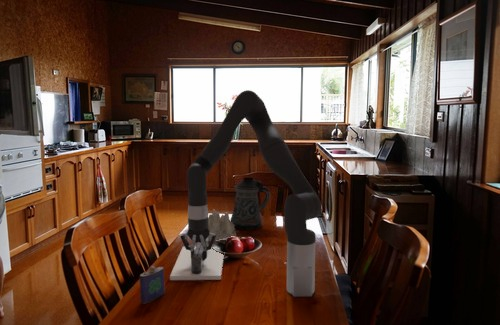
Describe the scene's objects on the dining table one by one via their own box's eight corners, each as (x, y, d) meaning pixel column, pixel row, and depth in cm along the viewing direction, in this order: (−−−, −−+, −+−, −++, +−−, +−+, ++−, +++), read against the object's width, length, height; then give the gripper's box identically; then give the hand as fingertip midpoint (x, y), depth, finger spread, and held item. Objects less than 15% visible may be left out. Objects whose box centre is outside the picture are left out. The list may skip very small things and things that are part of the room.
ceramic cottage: (239, 239, 182) (237, 207, 181) (204, 244, 177) (201, 211, 176) (230, 231, 197) (228, 201, 196) (198, 235, 192) (196, 205, 191)
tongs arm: (196, 269, 144) (196, 257, 143) (191, 269, 144) (190, 257, 143) (203, 248, 166) (203, 237, 165) (198, 248, 166) (198, 237, 165)
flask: (161, 291, 131) (160, 260, 129) (167, 293, 129) (166, 262, 127) (138, 302, 123) (137, 270, 122) (144, 305, 121) (143, 272, 120)
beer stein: (225, 223, 207) (224, 177, 203) (257, 219, 216) (257, 174, 212) (239, 232, 192) (239, 182, 189) (273, 226, 201) (273, 178, 198)
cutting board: (220, 279, 139) (220, 275, 139) (170, 280, 139) (170, 276, 139) (224, 249, 169) (224, 246, 169) (182, 249, 169) (182, 246, 168)
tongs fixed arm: (202, 273, 140) (201, 260, 139) (190, 274, 140) (190, 260, 139) (208, 248, 166) (208, 236, 165) (198, 248, 166) (198, 237, 165)
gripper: (177, 219, 143) (178, 263, 146) (216, 218, 144) (216, 263, 146) (180, 213, 151) (182, 256, 153) (217, 213, 151) (218, 256, 153)
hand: (199, 259), depth 150 cm, fingers open, 3 cm apart
